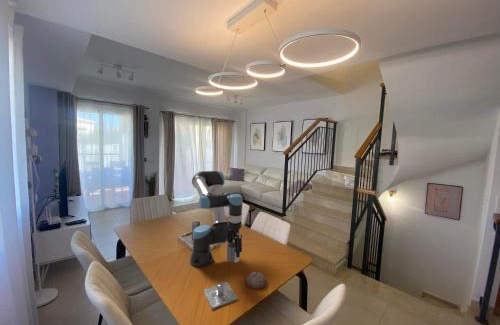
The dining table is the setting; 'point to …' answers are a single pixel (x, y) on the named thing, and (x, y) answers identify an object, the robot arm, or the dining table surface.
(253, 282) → the decorative stone
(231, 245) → the sleeve
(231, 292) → the square plate
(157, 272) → the dining table surface
